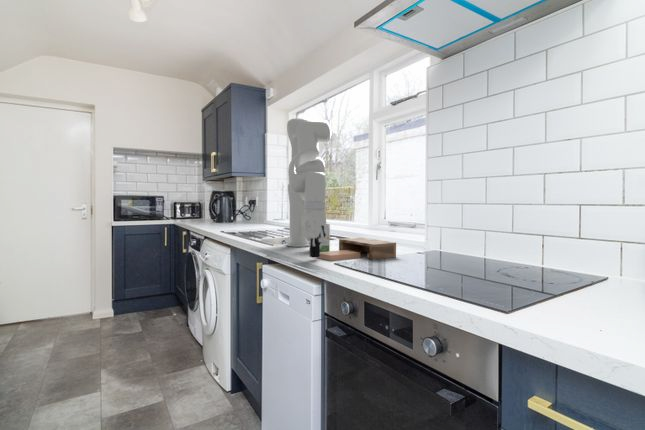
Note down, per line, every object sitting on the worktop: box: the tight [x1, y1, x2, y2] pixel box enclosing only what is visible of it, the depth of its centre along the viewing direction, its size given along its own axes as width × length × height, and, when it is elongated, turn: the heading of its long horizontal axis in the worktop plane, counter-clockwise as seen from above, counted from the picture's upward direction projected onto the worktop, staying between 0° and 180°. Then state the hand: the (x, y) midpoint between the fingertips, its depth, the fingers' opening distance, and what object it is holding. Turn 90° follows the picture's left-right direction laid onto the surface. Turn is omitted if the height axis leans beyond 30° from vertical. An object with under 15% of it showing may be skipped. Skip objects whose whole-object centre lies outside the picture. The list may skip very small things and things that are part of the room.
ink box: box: [308, 223, 331, 252], centre depth 150 cm, size 9×5×12 cm, turn 84°
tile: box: [316, 249, 361, 262], centre depth 132 cm, size 9×14×2 cm, turn 124°
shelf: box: [338, 237, 397, 260], centre depth 139 cm, size 22×11×6 cm, turn 33°
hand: (314, 256), depth 126 cm, fingers closed
